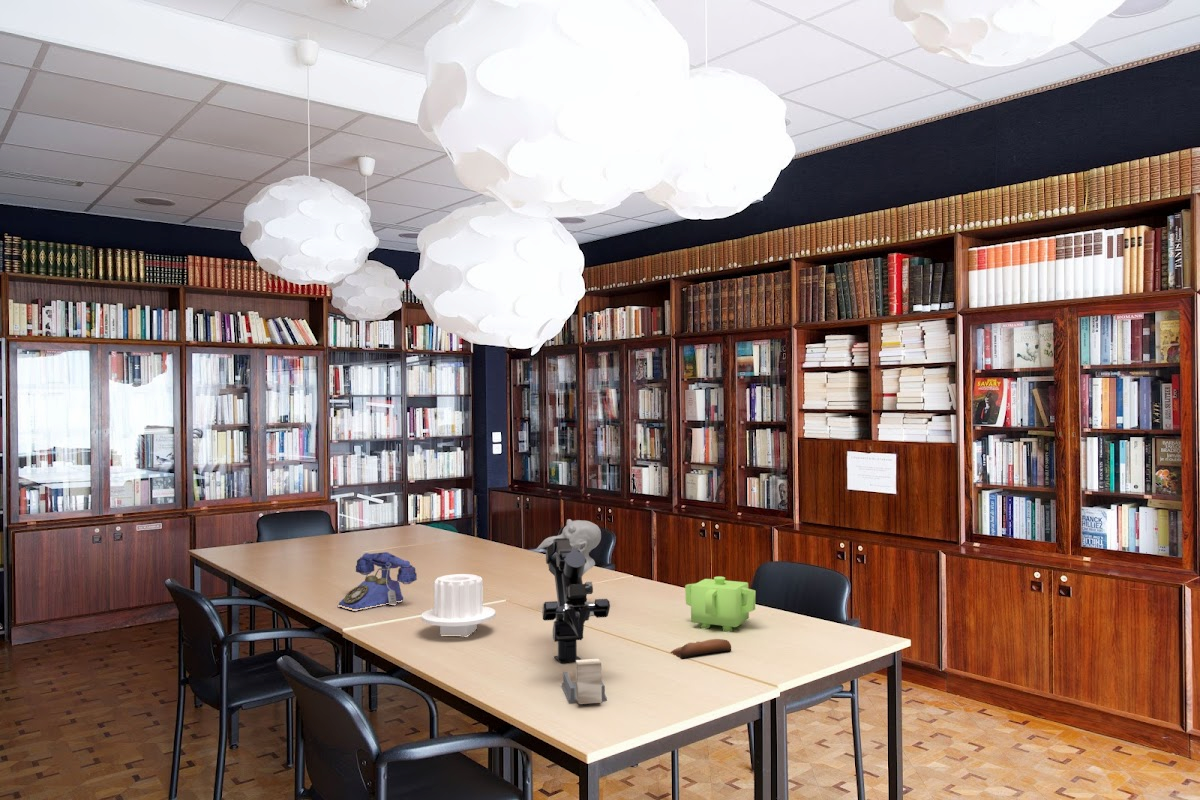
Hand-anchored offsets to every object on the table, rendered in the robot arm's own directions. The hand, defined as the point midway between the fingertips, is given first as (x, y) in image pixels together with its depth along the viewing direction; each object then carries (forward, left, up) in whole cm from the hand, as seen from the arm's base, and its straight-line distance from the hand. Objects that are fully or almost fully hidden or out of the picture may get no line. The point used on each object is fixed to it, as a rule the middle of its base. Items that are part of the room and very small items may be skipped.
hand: (579, 636), depth 230 cm
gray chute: (+6, -1, -14) cm, 15 cm away
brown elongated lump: (-13, +46, -14) cm, 50 cm away
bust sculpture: (-77, +30, -14) cm, 84 cm away
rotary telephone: (-129, -37, -14) cm, 135 cm away
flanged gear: (-69, -16, -14) cm, 72 cm away
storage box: (-37, +69, -14) cm, 80 cm away
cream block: (+14, -4, -13) cm, 19 cm away
